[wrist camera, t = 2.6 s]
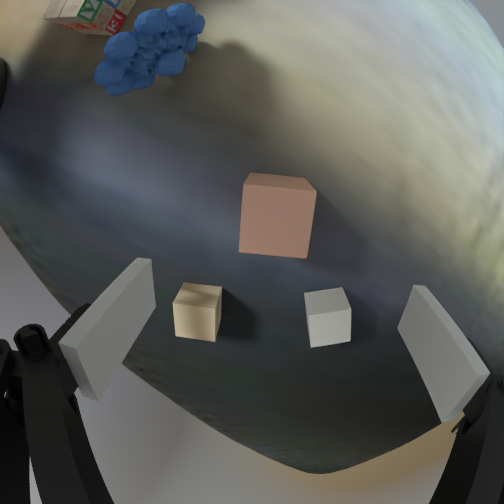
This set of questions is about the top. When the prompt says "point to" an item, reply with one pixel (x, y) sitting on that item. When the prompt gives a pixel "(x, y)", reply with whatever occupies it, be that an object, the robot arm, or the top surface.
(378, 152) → the top surface
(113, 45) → the grapes
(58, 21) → the stack of blocks
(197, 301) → the maple block
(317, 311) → the off-white plastic block
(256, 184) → the terracotta block
